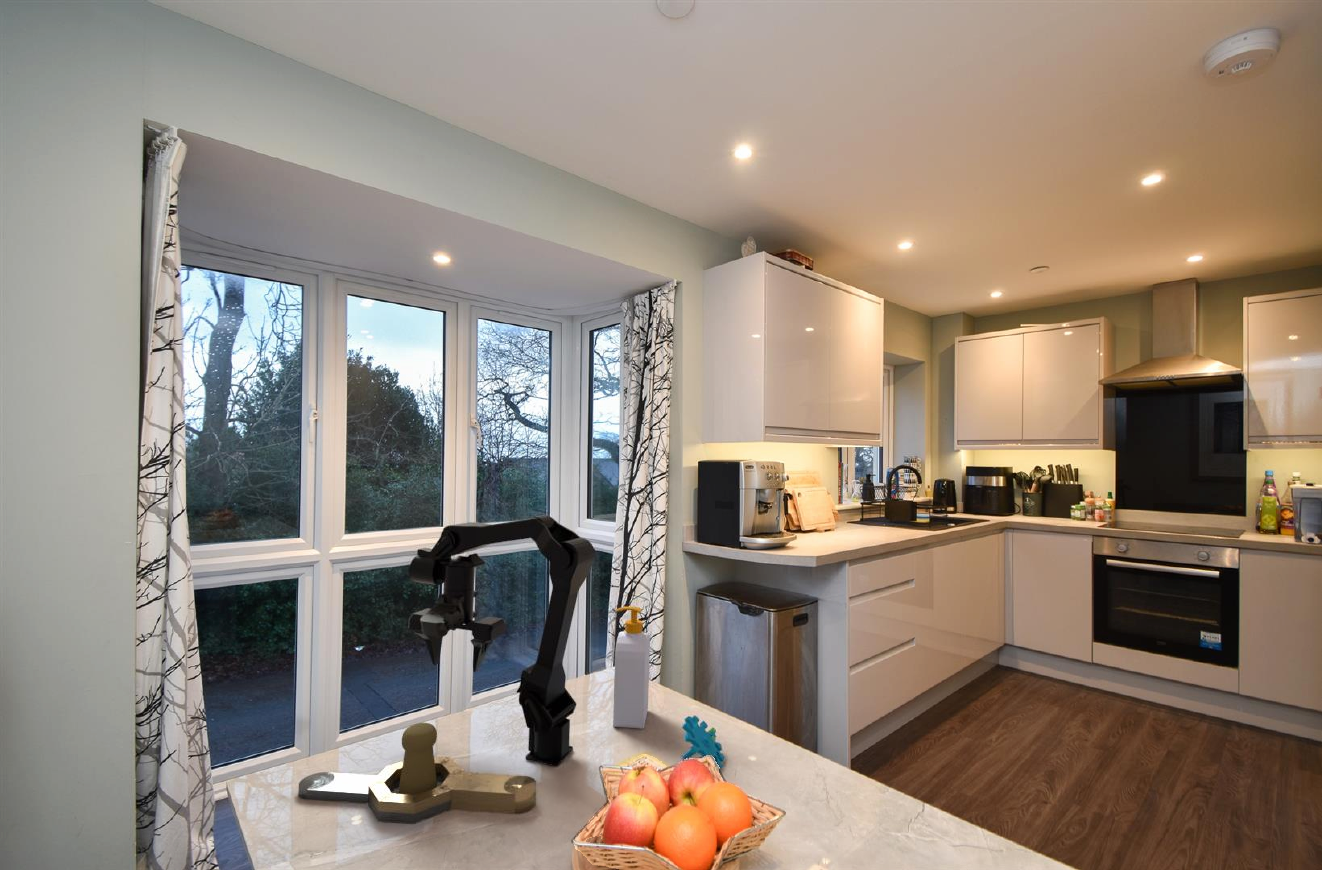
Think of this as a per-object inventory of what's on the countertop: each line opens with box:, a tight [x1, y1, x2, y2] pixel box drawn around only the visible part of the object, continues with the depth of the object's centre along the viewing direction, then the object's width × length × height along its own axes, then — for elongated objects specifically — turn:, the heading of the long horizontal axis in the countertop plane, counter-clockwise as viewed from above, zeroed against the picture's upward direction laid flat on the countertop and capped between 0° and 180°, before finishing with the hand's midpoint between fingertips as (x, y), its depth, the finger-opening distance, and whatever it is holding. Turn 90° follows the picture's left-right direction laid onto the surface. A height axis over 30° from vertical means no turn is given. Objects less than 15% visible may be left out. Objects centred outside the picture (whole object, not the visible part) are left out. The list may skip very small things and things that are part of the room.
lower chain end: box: [297, 771, 452, 825], centre depth 94 cm, size 26×13×2 cm, turn 86°
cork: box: [397, 722, 438, 795], centre depth 93 cm, size 6×6×11 cm
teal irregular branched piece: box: [681, 715, 726, 769], centre depth 107 cm, size 11×6×10 cm
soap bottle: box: [612, 605, 651, 729], centre depth 123 cm, size 9×7×23 cm
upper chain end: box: [368, 755, 538, 815], centre depth 93 cm, size 26×13×3 cm, turn 86°
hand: (455, 668), depth 115 cm, fingers open, 9 cm apart
